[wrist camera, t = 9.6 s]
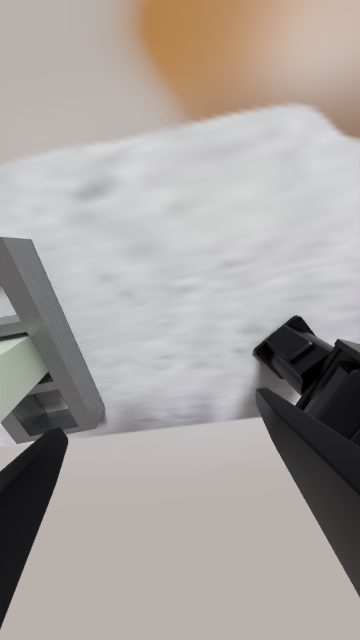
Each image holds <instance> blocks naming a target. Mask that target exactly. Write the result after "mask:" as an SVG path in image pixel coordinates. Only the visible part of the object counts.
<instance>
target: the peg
mask: <svg viewBox="0 0 360 640" xmlns="http://www.w3.org/2000/svg"><path fill="white" fill-rule="evenodd" d="M47 372H48V370H47V368H46V366H45V364H44V362H43V360H42V359H41V357H40V355H39V353H38V351H37V350H36V348H35V346H34V344H33V342H32V340H31V339H30V337H29V335H28V333H27V332H23V333H18V334H12V335H7V336H1V337H0V423H1V422H2V420H3V419H4V418H5V417H6V416H7V415H8V414H9V413H10V412H11V411H12V410H13V409H14V408H15V407H16V405H17V404H18V403H19V402H20V401H21V400H22V399H23V398H24V397H25V396H26V395H27V394H28V393H29V392H30V391H31V389H32V388H33V387H34V386H35V385H36V384H37V383H38V382H39V381H40V380H41V379H42V378H43V377H44V376H45V374H46V373H47Z"/></svg>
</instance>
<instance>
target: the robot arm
mask: <svg viewBox="0 0 360 640" xmlns="http://www.w3.org/2000/svg"><path fill="white" fill-rule="evenodd" d="M297 319H298V320H297ZM296 320H297V321H296ZM259 350H260V351H259ZM258 351H259V352H258ZM254 352H255V353H256V354H257V355H258V356H259V357H260V358H261V359H262V360H263V361H264V362H265V363H266V364H267V365H268V366H269V367H270V368H271V369H272V370H273V371H274V372H275V373H276V374H277V375H278V376H279V377H280V378H281V379H285V380H286V381H287V382H288V383H289V384H290V385H291V386H292V387H293V388H294V389H295V390H296V391H297V392H298V393H299V394H300V396H301V398H300V399H299V401H298V402H297V404H296V405H295V406H294V405H293V404H291V403H290V402H288V401H287V400H285V399H283V398H282V397H280V396H279V395H277V394H276V393H274V392H272V391H271V390H269V389H268V388H266V387H262V388H257V389H256V404H257V407H258V410H259V412H260V414H261V416H262V419H263V421H264V423H265V425H266V428H267V430H268V432H269V434H270V437H271V439H272V441H273V443H274V445H275V447H276V449H277V451H278V452H279V454H280V456H281V458H282V460H283V461H284V463H285V465H286V467H287V468H288V470H289V472H290V474H291V475H292V477H293V479H294V481H295V483H296V484H297V486H298V488H299V490H300V492H301V493H302V495H303V497H304V499H305V500H306V502H307V504H308V506H309V507H310V509H311V511H312V513H313V515H314V516H315V518H316V520H317V522H318V524H319V525H320V527H321V529H322V531H323V533H324V534H325V536H326V538H327V540H328V541H329V543H330V545H331V547H332V548H333V550H334V552H335V554H336V555H337V557H338V559H339V561H340V563H341V565H342V566H343V568H344V570H345V572H346V573H347V575H348V577H349V578H350V581H351V582H352V584H353V586H354V588H355V589H356V591H357V593H358V595H359V597H360V344H356V343H353V342H349V341H345V340H341V339H337V341H336V342H335V346H334V347H333V346H331V345H329V344H328V343H326V342H324V341H322V340H321V339H319V338H317V337H316V336H315V334H314V333H313V332H312V330H311V329H310V328H309V327H308V325H307V324H306V323H305V321H304V320H303V319H302V318H301V317H300V316H297V315H296V316H294V317H292V318H291V319H290V320H289V321H288V322H286V323H285V324H284V325H283V326H282V327H280V328H279V329H278V330H277V331H276V332H274V333H273V334H272V335H271V336H270V337H268V338H267V339H266V340H265V341H263V342H262V343H261V344H260V345H259V346H257V347H256V348H255V350H254ZM67 445H68V438H67V436H66V434H65V433H64V431H63V430H62V428H61V427H55V428H51V429H49V430H48V431H46V432H45V433H44V434H43V435H42V436H41V437H40V438H38V439H37V440H36V441H35V442H34V443H33V444H31V445H30V446H29V447H28V448H27V449H26V450H25V451H23V453H21V454H20V455H19V456H18V457H16V458H15V459H14V460H13V461H12V462H11V463H10V464H8V465H7V466H6V467H5V468H4V469H3V470H1V471H0V629H1V626H2V623H3V621H4V618H5V615H6V613H7V610H8V608H9V605H10V603H11V600H12V597H13V595H14V592H15V590H16V587H17V584H18V582H19V579H20V577H21V574H22V571H23V569H24V566H25V564H26V561H27V558H28V556H29V553H30V551H31V548H32V545H33V543H34V540H35V538H36V535H37V532H38V530H39V527H40V525H41V522H42V519H43V517H44V514H45V512H46V509H47V506H48V504H49V501H50V499H51V496H52V494H53V491H54V488H55V485H56V482H57V479H58V476H59V473H60V469H61V466H62V462H63V459H64V455H65V452H66V449H67Z"/></svg>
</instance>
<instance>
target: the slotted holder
mask: <svg viewBox="0 0 360 640" xmlns="http://www.w3.org/2000/svg"><path fill="white" fill-rule="evenodd" d="M0 284H1V286H2V288H3V289H4V291H5V293H6V295H7V297H8V298H9V300H10V302H11V304H12V306H13V308H14V309H15V311H16V313H17V315H13V316H8V317H2V318H0V337H1V336H7V335H12V334H18V333H23V332H27V333H28V335H29V337H30V339H31V340H32V342H33V344H34V346H35V348H36V350H37V351H38V353H39V355H40V357H41V359H42V360H43V362H44V364H45V366H46V368H47V370H48V372H47V373H46V374H45V376H44V377H43V378H42V379H41V380H40V381H39V382H38V383H37V384H36V385H35V386H34V387H33V388H32V389H31V391H30V392H29V393H28V394H27V395H26V396H25V397H24V398H23V399H22V400H21V401H20V402H19V403H18V404H17V405H16V407H15V408H14V409H13V410H12V411H11V412H10V413H9V414H8V415H7V416H6V417H5V418H4V419H3V420H2V422H1V424H2V425H3V427H4V428H5V429H6V431H7V432H8V433H9V434H10V436H11V437H12V438H13V439H14V441H15V442H16V443H17V444H20V443H25V442H30V441H35V440H37V439H38V438H40V437H41V436H42V435H43V434H44V433H45V432H46V431H48V430H49V429H51V428H55V427H61V428H62V430H63V431H64V433H65V434H70V433H75V432H80V431H85V430H90V429H95V428H97V426H98V423H99V420H100V418H101V415H102V412H103V410H104V407H105V406H104V404H103V402H102V400H101V397H100V395H99V393H98V391H97V388H96V386H95V384H94V381H93V379H92V377H91V375H90V372H89V370H88V368H87V366H86V363H85V361H84V359H83V357H82V354H81V352H80V350H79V347H78V345H77V343H76V341H75V338H74V336H73V334H72V332H71V329H70V327H69V325H68V322H67V320H66V318H65V316H64V313H63V311H62V309H61V307H60V304H59V302H58V300H57V297H56V295H55V293H54V291H53V288H52V286H51V284H50V282H49V279H48V277H47V275H46V273H45V270H44V268H43V266H42V263H41V261H40V259H39V257H38V254H37V252H36V250H35V248H34V245H33V243H32V241H31V239H20V238H7V237H0ZM57 389H58V390H59V391H60V393H61V395H62V397H63V399H64V401H65V402H66V404H67V406H68V408H69V409H66V410H61V411H56V412H51V413H45V411H44V410H43V408H42V406H41V405H40V403H39V402H38V400H37V398H36V397H35V395H34V394H36V393H41V392H47V391H52V390H57Z"/></svg>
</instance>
